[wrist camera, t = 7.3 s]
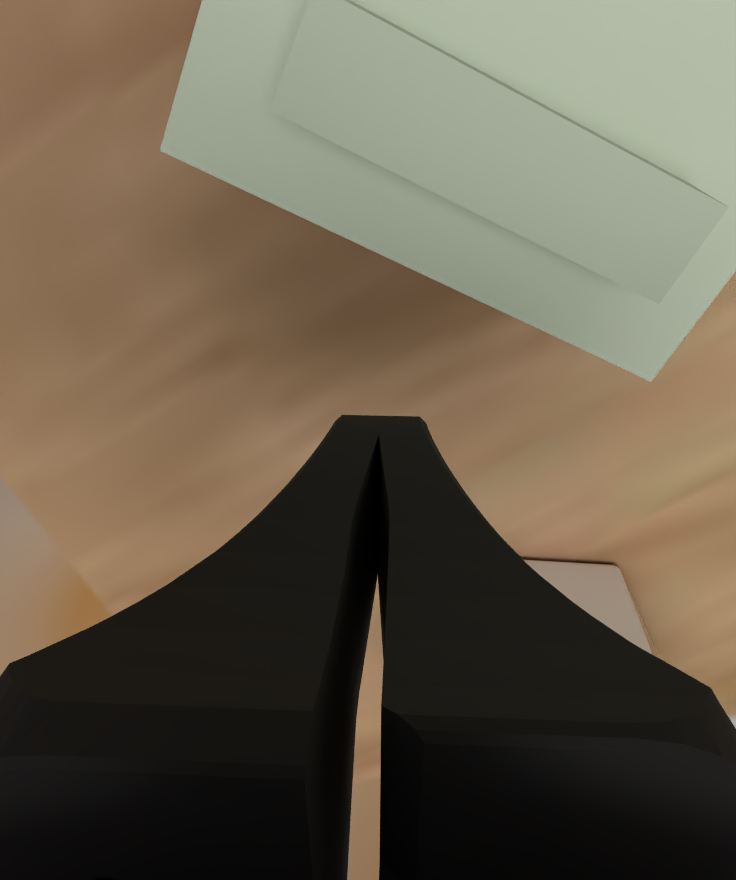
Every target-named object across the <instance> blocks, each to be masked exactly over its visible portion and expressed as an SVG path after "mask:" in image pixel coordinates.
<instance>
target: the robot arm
mask: <svg viewBox="0 0 736 880" xmlns="http://www.w3.org/2000/svg"><path fill="white" fill-rule="evenodd" d="M377 575H378V584H379V599H380V614H381V629H382V644H383V659H384V666H383V686H382V704H381V794H380V795H381V796H380V797H381V798H380V869H379V870H380V871H379V880H736V729H735V727H734V725H733V724H732V722H731V721H730V719H729V717H728V716H727V714H726V713H725V711H724V709H723V708H722V706H721V705H720V703H719V701H718V700H717V698H716V696H715V694H714V693H713V691H712V689H711V688H710V687H708V686H706V685H705V684H703V683H701V682H699V681H698V680H696V679H694V678H692V677H691V676H689V675H687V674H685V673H684V672H682V671H680V670H678V669H677V668H675V667H673V666H671V665H670V664H668V663H666V662H664V661H663V660H661V659H659V658H657V657H656V656H654V655H652V654H650V653H648V652H647V651H645V650H643V649H641V648H640V647H638V646H636V645H635V644H633V643H632V642H630V641H628V640H627V639H625V638H624V637H622V636H621V635H619V634H618V633H616V632H615V631H614V630H612V629H611V628H609V627H608V626H606V625H605V624H603V623H602V622H600V621H599V620H597V619H596V618H594V617H593V616H591V615H590V614H589V613H587V612H586V611H585V610H583V609H582V608H580V607H579V606H578V605H576V604H575V603H574V602H572V601H571V600H570V599H569V598H567V597H566V596H565V595H564V594H562V593H561V592H560V591H559V590H558V589H556V588H555V587H554V586H553V585H551V584H550V583H549V582H548V581H547V580H545V579H544V578H543V577H542V576H540V575H539V574H538V573H537V572H536V571H535V570H534V569H532V568H531V567H530V566H529V565H528V564H527V563H526V562H525V561H524V560H523V559H522V558H521V557H520V556H519V555H518V554H517V553H516V552H515V551H514V550H513V549H512V548H511V547H510V546H509V545H508V544H507V543H506V542H505V541H504V540H503V538H502V537H501V536H500V535H499V534H498V533H497V532H496V531H495V529H494V528H493V527H492V526H491V525H490V524H489V523H488V521H487V520H486V519H485V518H484V516H483V515H482V514H481V513H480V511H479V510H478V509H477V508H476V506H475V505H474V504H473V502H472V501H471V500H470V498H469V497H468V496H467V494H466V493H465V492H464V490H463V489H462V487H461V486H460V484H459V483H458V481H457V480H456V478H455V477H454V475H453V474H452V472H451V471H450V469H449V468H448V466H447V464H446V463H445V461H444V459H443V458H442V456H441V454H440V452H439V450H438V449H437V447H436V445H435V443H434V441H433V439H432V437H431V435H430V432H429V430H428V427H427V424H426V423H425V422H424V421H423V420H422V419H421V418H420V417H412V416H362V415H342V416H341V417H340V418H338V419H337V420H336V421H335V422H334V424H333V426H332V427H331V429H330V430H329V432H328V433H327V435H326V436H325V438H324V439H323V441H322V442H321V443H320V445H319V446H318V447H317V449H316V450H315V451H314V453H313V454H312V455H311V457H310V458H309V459H308V460H307V462H306V463H305V464H304V465H303V466H302V468H301V469H300V470H299V471H298V472H297V474H296V475H295V476H294V477H293V478H292V480H291V481H290V482H289V483H288V484H287V485H286V486H285V487H284V489H283V490H282V491H281V492H280V493H279V494H278V495H277V496H276V497H275V498H274V499H273V500H272V501H271V502H270V503H269V504H268V505H267V506H266V507H265V508H264V509H263V510H262V511H261V512H260V513H259V514H258V515H257V516H256V517H255V518H254V519H253V520H252V521H251V522H250V523H249V524H248V525H247V526H245V527H244V528H243V529H242V530H241V531H240V532H239V533H237V534H236V535H235V536H234V537H233V538H232V539H230V540H229V541H228V542H227V543H225V544H224V545H223V546H222V547H221V548H219V549H218V550H217V551H216V552H214V553H213V554H211V555H210V556H208V557H207V558H206V559H204V560H203V561H201V562H200V563H198V564H197V565H195V566H194V567H192V568H191V569H190V570H188V571H187V572H185V573H184V574H182V575H181V576H179V577H178V578H176V579H175V580H174V581H172V582H171V583H169V584H167V585H166V586H164V587H163V588H161V589H159V590H158V591H156V592H154V593H152V594H151V595H149V596H147V597H146V598H144V599H142V600H141V601H139V602H137V603H135V604H133V605H132V606H130V607H128V608H126V609H124V610H122V611H121V612H119V613H117V614H115V615H113V616H111V617H110V618H108V619H106V620H104V621H102V622H100V623H98V624H96V625H94V626H92V627H90V628H88V629H86V630H83V631H81V632H79V633H77V634H75V635H73V636H70V637H68V638H66V639H64V640H62V641H60V642H57V643H55V644H53V645H50V646H48V647H46V648H44V649H42V650H39V651H37V652H35V653H33V654H31V655H29V656H26V657H24V658H21V659H19V660H17V661H14V662H12V663H10V664H9V665H8V666H7V668H6V669H5V670H4V672H3V673H2V675H1V676H0V880H347V870H348V850H349V833H350V815H351V797H352V779H353V762H354V745H355V728H356V716H357V707H358V698H359V690H360V684H361V677H362V671H363V665H364V658H365V652H366V646H367V639H368V633H369V627H370V620H371V614H372V607H373V601H374V594H375V588H376V581H377Z"/></svg>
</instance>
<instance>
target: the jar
mask: <svg viewBox="0 0 736 880" xmlns="http://www.w3.org/2000/svg"><path fill="white" fill-rule="evenodd" d="M524 561H525V562H526V563H527V564H528V565H529V566H530V567H531V568H532V569H534V570H535V571H536V572H537V573H538V574H539V575H540V576H542V577H543V578H544V579H545V580H547V581H548V582H549V583H550V584H551V585H553V586H554V587H555V588H556V589H558V590H559V591H560V592H561V593H562V594H564V595H565V596H566V597H567V598H569V599H570V600H571V601H572V602H574V603H575V604H576V605H578V606H579V607H580V608H582V609H583V610H585V611H586V612H587V613H589V614H590V615H591V616H593V617H594V618H596V619H597V620H599V621H600V622H602V623H603V624H605V625H606V626H608V627H609V628H611V629H612V630H614V631H615V632H616V633H618V634H619V635H621V636H622V637H624V638H625V639H627V640H628V641H630V642H632V643H633V644H635V645H636V646H638V647H640V648H641V649H643V650H645V651H647V652H648V653H650V654H652V655H654V656H656V657H657V658H659V657H658V654H657V651H656V649H655V646H654V644H653V642H652V640H651V637H650V635H649V633H648V631H647V628H646V626H645V624H644V622H643V620H642V617H641V615H640V613H639V611H638V608H637V606H636V604H635V602H634V599H633V597H632V595H631V593H630V590H629V588H628V586H627V584H626V582H625V579H624V577H623V575H622V573H621V570H620V569H619V568H618V567H617V566H615V565H606V564H589V563H573V562H556V561H539V560H524Z"/></svg>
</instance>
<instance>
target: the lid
mask: <svg viewBox="0 0 736 880" xmlns="http://www.w3.org/2000/svg"><path fill="white" fill-rule="evenodd" d="M160 151H161V152H164V153H166V154H168V155H170V156H172V157H174V158H176V159H178V160H181V161H183V162H185V163H187V164H189V165H191V166H193V167H195V168H198V169H200V170H202V171H204V172H206V173H208V174H210V175H212V176H215V177H217V178H219V179H221V180H223V181H225V182H227V183H229V184H232V185H234V186H236V187H238V188H240V189H242V190H244V191H246V192H249V193H251V194H253V195H255V196H257V197H259V198H261V199H263V200H266V201H268V202H270V203H272V204H274V205H276V206H278V207H280V208H283V209H285V210H287V211H289V212H291V213H293V214H295V215H297V216H300V217H302V218H304V219H306V220H308V221H310V222H312V223H314V224H317V225H319V226H321V227H323V228H325V229H327V230H329V231H331V232H334V233H336V234H338V235H340V236H342V237H344V238H346V239H348V240H351V241H353V242H355V243H357V244H359V245H361V246H363V247H365V248H367V249H370V250H372V251H374V252H376V253H378V254H380V255H382V256H384V257H387V258H389V259H391V260H393V261H395V262H397V263H399V264H401V265H404V266H406V267H408V268H410V269H412V270H414V271H416V272H418V273H421V274H423V275H425V276H427V277H429V278H431V279H433V280H435V281H438V282H440V283H442V284H444V285H446V286H448V287H450V288H452V289H455V290H457V291H459V292H461V293H463V294H465V295H467V296H469V297H472V298H474V299H476V300H478V301H480V302H482V303H484V304H486V305H489V306H491V307H493V308H495V309H497V310H499V311H501V312H503V313H506V314H508V315H510V316H512V317H514V318H516V319H518V320H520V321H523V322H525V323H527V324H529V325H531V326H533V327H535V328H537V329H540V330H542V331H544V332H546V333H548V334H550V335H552V336H554V337H557V338H559V339H561V340H563V341H565V342H567V343H569V344H571V345H574V346H576V347H578V348H580V349H582V350H584V351H586V352H588V353H591V354H593V355H595V356H597V357H599V358H601V359H603V360H605V361H608V362H610V363H612V364H614V365H616V366H618V367H620V368H622V369H625V370H627V371H629V372H631V373H633V374H635V375H637V376H639V377H642V378H644V379H646V380H648V381H650V382H651V381H652V380H653V379H654V377H655V376H656V375H657V373H658V372H659V371H660V369H661V368H662V367H663V366H664V364H665V363H666V362H667V360H668V359H669V358H670V356H671V355H672V354H673V352H674V351H675V350H676V349H677V347H678V346H679V345H680V343H681V342H682V341H683V339H684V338H685V337H686V335H687V334H688V333H689V331H690V330H691V329H692V328H693V326H694V325H695V324H696V322H697V321H698V320H699V318H700V317H701V316H702V314H703V313H704V312H705V310H706V309H707V308H708V307H709V305H710V304H711V303H712V301H713V300H714V299H715V297H716V296H717V295H718V293H719V292H720V291H721V290H722V288H723V287H724V286H725V284H726V283H727V282H728V280H729V279H730V278H731V276H732V275H733V274H734V272H735V271H736V0H202V2H201V6H200V9H199V13H198V17H197V20H196V24H195V27H194V31H193V34H192V38H191V41H190V45H189V48H188V52H187V56H186V59H185V63H184V66H183V70H182V73H181V77H180V80H179V84H178V88H177V91H176V95H175V98H174V102H173V105H172V109H171V112H170V116H169V119H168V123H167V127H166V130H165V134H164V137H163V141H162V144H161V148H160Z"/></svg>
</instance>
